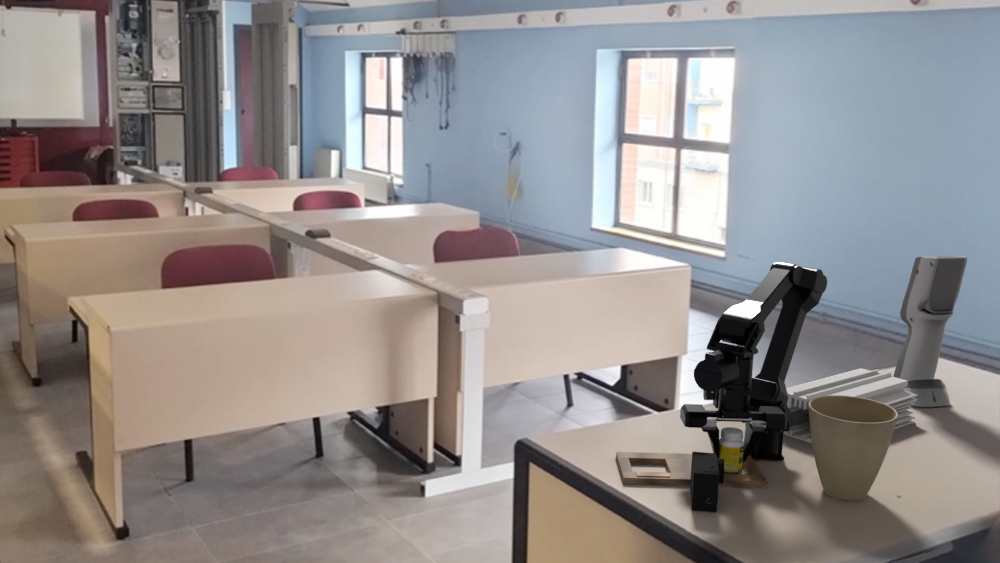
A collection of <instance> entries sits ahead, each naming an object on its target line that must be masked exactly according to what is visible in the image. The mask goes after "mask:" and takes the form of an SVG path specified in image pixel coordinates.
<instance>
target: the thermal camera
mask: <svg viewBox="0 0 1000 563" xmlns="http://www.w3.org/2000/svg"><path fill="white" fill-rule="evenodd" d="M967 262H968V258H967V256H964V255H946V256H945V255H943V256H942V255H940V256H939V255H937V256H936V255H935V256H934V255H933V256H929V255H928V256H926V255H925V256H917V257H915V259H914V263H913V265H912V266H913V267H912V269H911V273H910V278H909V281H908V285H907V288H906V292H905V294H904V298H903V300H902V304H901V307H900V313H899V314H900V318H901V320H902V321H903V323H905V324H906V326H907V327H908V330H907V333H906V338H905V340H904V343H903V346H902V348H901V351H900V354H899V356H898V359H897V362H896V366H895V369H894V372H893V375H892V377H896V378H900V379H904V380H907V381H908V386H905V387H904V390H905V391H907V392H910V393H914V394H917V395H918V396H916V397H913V398H915V399H917V401H914V402H912V403H914V405H911V406H910V407H914V408H922V409H923V408H925V409H927V408H944V407H945V408H946V407H949V406H950V403H951V402H950V396H949V392H948V388H947V386H946V384H945V383H944V381H943V380H942V379H940V378H935V375H936V372H937V368H938V364H939V360H940V355H941V354H940V353H941V349H942V344H943V339H944V334H945V329H946V325H947V322H948V321H949V319H950V318H951V317H952V316H953V314H954V310H955V309H954V308H955V305H956V303H957V301H958V298H959V294H960V290H961V287H962V283H963V278H964V275H965V271H966V266H967Z"/></svg>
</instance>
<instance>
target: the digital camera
mask: <svg viewBox="0 0 1000 563" xmlns="http://www.w3.org/2000/svg"><path fill="white" fill-rule="evenodd" d="M691 452H692V453H691V454H692V465H691V481H690V486H689V490H690V491H689V492H690V507H691V511H692V512H705V513H714V514H715V513H717V512H718V505H719V504H718V501H719V500H718V499H719V489H720V488H719V487H720V486H719V484H723V481H724V459H719V458H717V454H716V453H713V452H704V451H703V452H702V451H701V452H700V451H691Z"/></svg>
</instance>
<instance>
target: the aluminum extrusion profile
mask: <svg viewBox="0 0 1000 563" xmlns="http://www.w3.org/2000/svg"><path fill="white" fill-rule="evenodd" d="M879 371H880V369H879V368H878V369H873V370H870V369H865V368H862V367H861V368H856V369H854V370H849V371H846V372H841V373H838V374H835V375H831V376H827V377H822V378H819V379H816V380H812V381H809V382H804V383H800V384H797V385H792V386H789V387H786V390H787V394H788V401H787V406H788V408H789V410H790V412H791V413H792V415H793V423H792V426H791V428H790V431H784V435H785V434H786V435H785V436H788V437H792V438H794V439H797V440H801V441H803V442H807V443H808V444H811V445H812V439H811V432H810V420H809V402H810V401H811V400H812V399H814V398H817V397H821V396H830V395H842V396H853V397H860V398H866V399H870V400H874V401H878V402H881V403H884V404H886V405H888V406H890V407H892V408H893V409H895V410H896V412H897V413H898V416H897V420H896V424H895V428H894V430H897V429H899V428H902V427H905V426H908V425H911V424H914V423H915V421H914V419H916V416H913V415H912V414H914V411H912V410H910V409H912V408H913V406H911V405H914V403H912V402H914V401H917V399H915V398H913V397H916V396H918V395H917V394H914V393H910V392H907V391H905V390H904V387H905V386H908V381H907V380H904V379H900V378H896V377H893V375H892V372H890V371H888V372H885V373H880V372H879Z"/></svg>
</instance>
